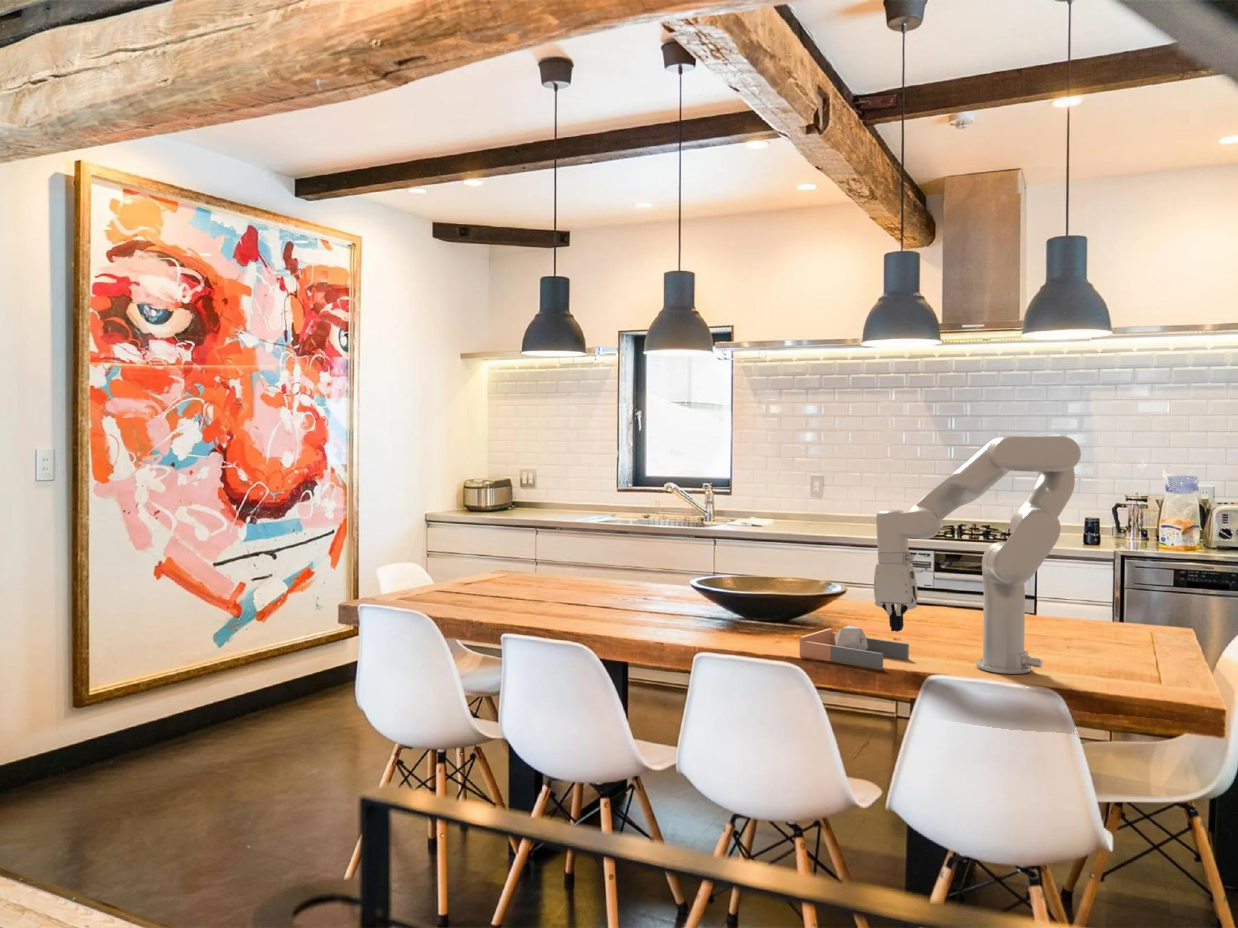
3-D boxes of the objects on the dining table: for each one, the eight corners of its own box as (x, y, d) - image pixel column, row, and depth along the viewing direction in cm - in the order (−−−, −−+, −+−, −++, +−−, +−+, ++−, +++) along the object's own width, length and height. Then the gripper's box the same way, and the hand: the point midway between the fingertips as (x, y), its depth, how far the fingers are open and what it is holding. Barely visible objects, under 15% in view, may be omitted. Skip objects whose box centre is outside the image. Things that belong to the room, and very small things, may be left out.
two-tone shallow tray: (908, 659, 237) (908, 640, 237) (881, 670, 225) (881, 650, 225) (829, 646, 252) (829, 628, 252) (799, 655, 240) (799, 637, 240)
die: (834, 661, 237) (855, 635, 233) (823, 639, 244) (843, 613, 241) (858, 670, 240) (879, 644, 236) (847, 647, 247) (867, 622, 244)
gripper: (928, 558, 229) (931, 630, 229) (872, 555, 239) (876, 625, 239) (915, 561, 223) (919, 635, 223) (859, 559, 233) (862, 630, 233)
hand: (896, 630), depth 231 cm, fingers closed
